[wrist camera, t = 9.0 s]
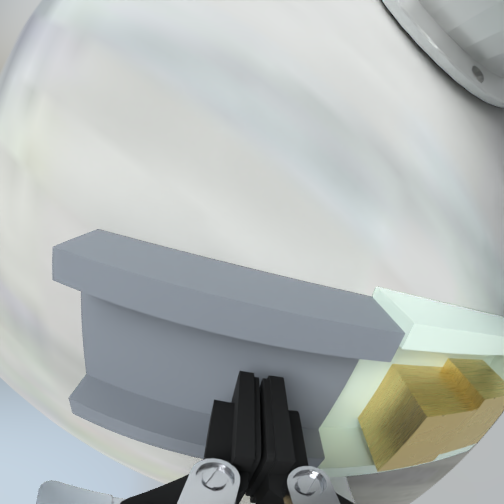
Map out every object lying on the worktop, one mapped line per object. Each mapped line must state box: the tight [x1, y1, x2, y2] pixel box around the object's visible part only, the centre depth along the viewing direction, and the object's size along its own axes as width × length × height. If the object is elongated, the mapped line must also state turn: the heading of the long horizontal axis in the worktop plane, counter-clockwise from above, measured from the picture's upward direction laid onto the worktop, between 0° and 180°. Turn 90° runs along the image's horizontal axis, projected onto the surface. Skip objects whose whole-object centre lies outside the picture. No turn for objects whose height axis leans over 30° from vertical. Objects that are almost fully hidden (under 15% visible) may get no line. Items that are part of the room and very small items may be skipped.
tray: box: [317, 286, 504, 477], centre depth 11 cm, size 9×13×3 cm
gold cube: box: [358, 364, 478, 472], centre depth 10 cm, size 4×4×4 cm
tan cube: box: [440, 358, 504, 454], centre depth 10 cm, size 4×4×4 cm
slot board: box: [52, 229, 405, 468], centre depth 10 cm, size 8×12×3 cm
